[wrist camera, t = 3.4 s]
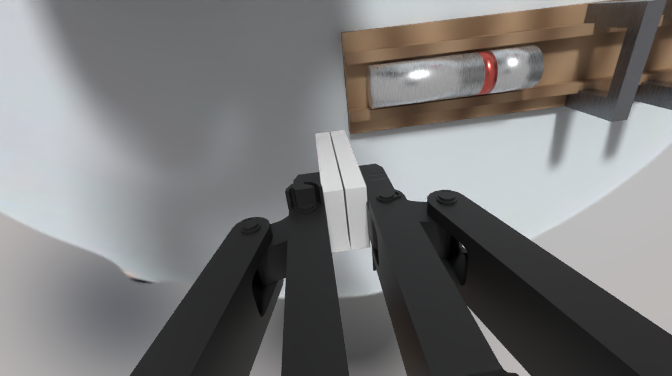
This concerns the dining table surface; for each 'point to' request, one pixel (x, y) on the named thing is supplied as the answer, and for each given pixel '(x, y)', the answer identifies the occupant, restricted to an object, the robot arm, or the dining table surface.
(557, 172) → the dining table surface
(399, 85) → the tube
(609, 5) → the collars
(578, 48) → the cradle
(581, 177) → the dining table surface
